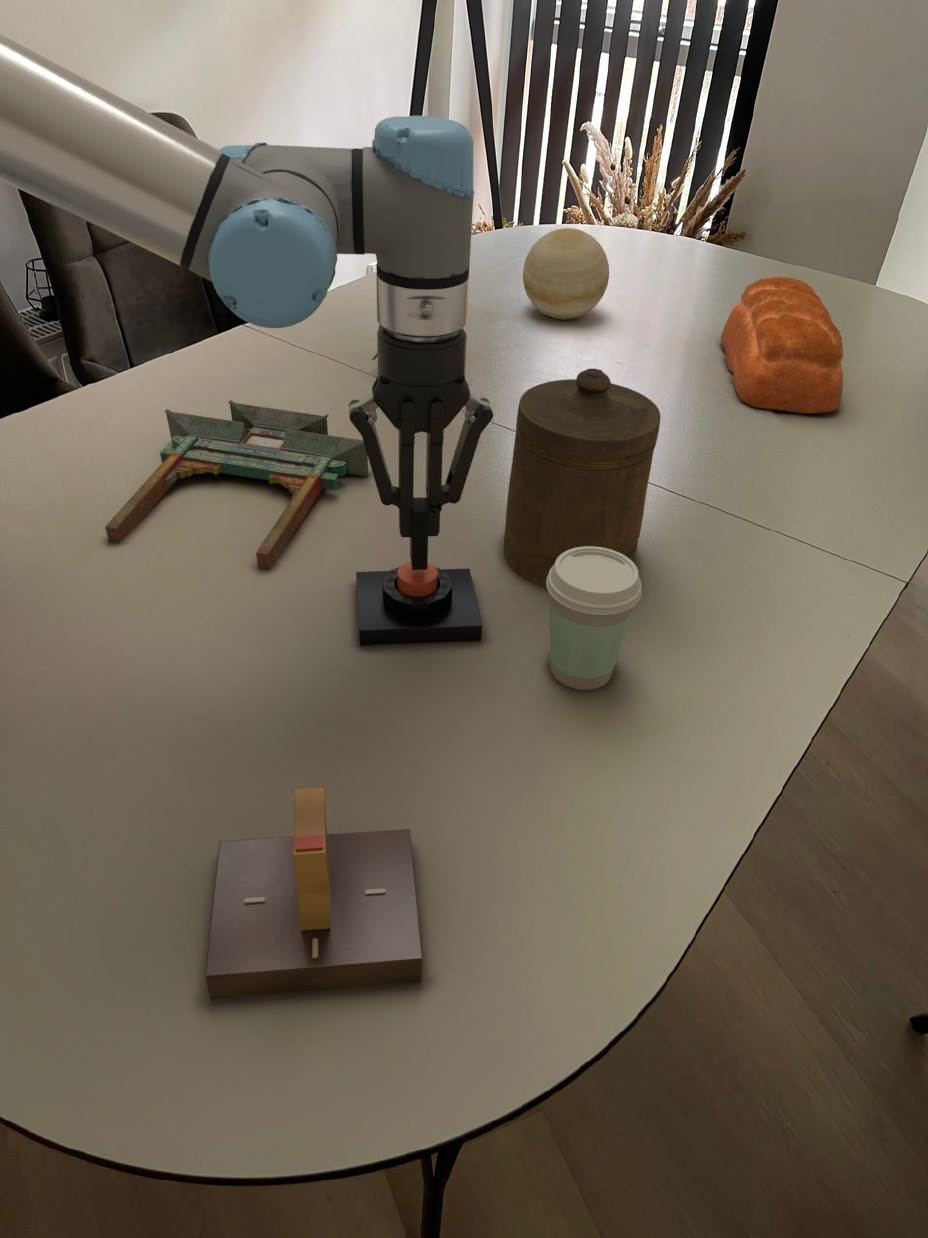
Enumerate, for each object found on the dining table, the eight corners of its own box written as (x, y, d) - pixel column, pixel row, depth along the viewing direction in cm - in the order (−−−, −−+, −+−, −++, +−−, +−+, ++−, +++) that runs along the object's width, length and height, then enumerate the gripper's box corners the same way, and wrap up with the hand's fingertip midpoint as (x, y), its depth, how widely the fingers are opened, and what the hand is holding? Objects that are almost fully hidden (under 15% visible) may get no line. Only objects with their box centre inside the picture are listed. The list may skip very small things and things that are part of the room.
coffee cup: (642, 673, 91) (664, 570, 84) (587, 714, 86) (604, 609, 79) (574, 633, 96) (589, 532, 89) (517, 669, 91) (528, 566, 84)
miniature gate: (68, 508, 103) (189, 383, 125) (80, 549, 107) (196, 421, 129) (301, 548, 99) (385, 411, 121) (306, 589, 103) (386, 449, 125)
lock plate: (210, 1002, 63) (204, 974, 61) (223, 867, 71) (219, 839, 69) (421, 984, 64) (422, 957, 62) (409, 854, 73) (410, 827, 71)
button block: (359, 648, 93) (358, 615, 90) (356, 588, 101) (355, 557, 98) (481, 643, 94) (483, 610, 92) (468, 585, 102) (470, 554, 100)
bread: (738, 410, 141) (758, 324, 133) (716, 335, 166) (732, 258, 158) (844, 419, 140) (871, 333, 132) (806, 342, 165) (827, 265, 157)
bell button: (398, 598, 93) (398, 584, 92) (396, 575, 96) (396, 561, 95) (439, 597, 94) (439, 582, 93) (435, 574, 97) (435, 560, 96)
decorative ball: (613, 312, 173) (625, 226, 164) (588, 338, 162) (599, 247, 153) (536, 297, 178) (544, 213, 169) (506, 321, 167) (513, 232, 158)
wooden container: (660, 560, 108) (697, 376, 94) (575, 611, 99) (604, 416, 86) (561, 509, 116) (583, 332, 103) (475, 552, 107) (487, 365, 94)
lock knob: (301, 865, 68) (294, 786, 63) (329, 863, 68) (324, 784, 63) (300, 931, 64) (292, 852, 59) (330, 929, 64) (325, 849, 59)
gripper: (344, 344, 75) (353, 586, 90) (506, 343, 77) (489, 581, 91) (342, 311, 81) (351, 543, 96) (492, 311, 83) (479, 539, 97)
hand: (418, 561), depth 93 cm, fingers closed
